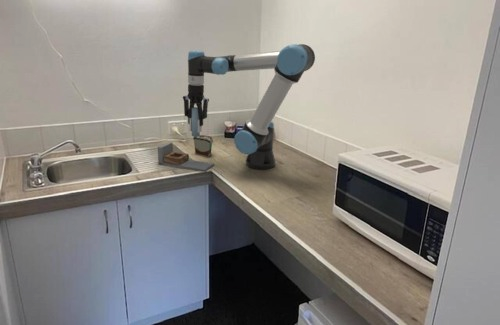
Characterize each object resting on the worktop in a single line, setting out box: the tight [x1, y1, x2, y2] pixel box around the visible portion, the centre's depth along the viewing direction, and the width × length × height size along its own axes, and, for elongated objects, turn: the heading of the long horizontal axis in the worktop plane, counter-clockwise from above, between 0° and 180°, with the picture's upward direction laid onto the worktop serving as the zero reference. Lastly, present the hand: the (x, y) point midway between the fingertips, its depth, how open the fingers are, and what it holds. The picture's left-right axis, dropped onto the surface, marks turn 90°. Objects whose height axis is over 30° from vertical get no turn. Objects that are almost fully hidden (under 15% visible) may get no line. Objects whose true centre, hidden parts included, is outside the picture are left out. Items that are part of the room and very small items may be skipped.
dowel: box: [191, 106, 201, 137], centre depth 188 cm, size 4×4×14 cm
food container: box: [192, 134, 214, 158], centre depth 206 cm, size 12×6×10 cm, turn 58°
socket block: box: [164, 151, 190, 165], centre depth 191 cm, size 9×9×3 cm
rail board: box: [157, 141, 215, 173], centre depth 189 cm, size 10×26×9 cm, turn 70°
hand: (195, 131), depth 189 cm, fingers closed on dowel, 4 cm apart
